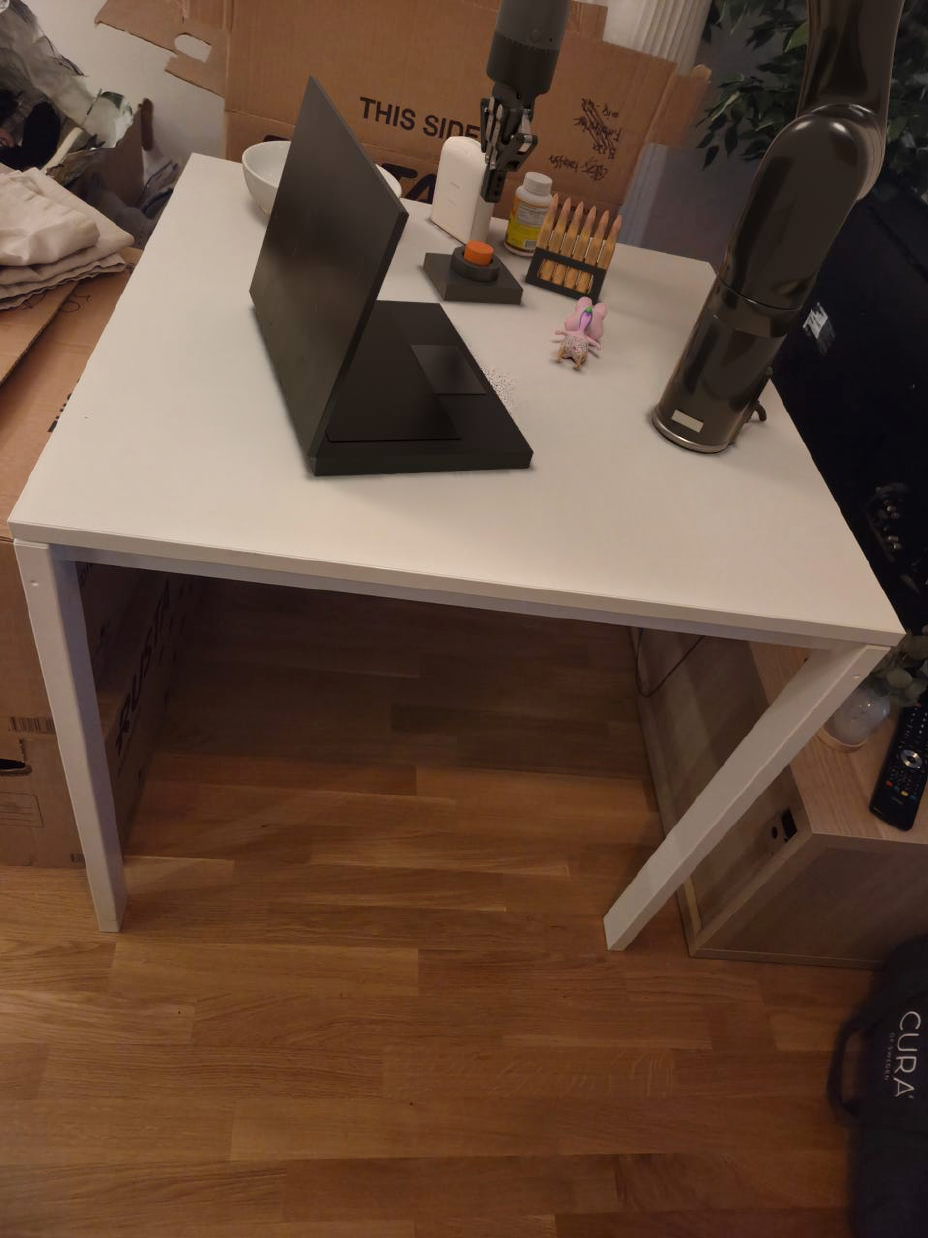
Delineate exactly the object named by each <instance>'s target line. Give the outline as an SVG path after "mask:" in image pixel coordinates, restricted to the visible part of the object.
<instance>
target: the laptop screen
mask: <svg viewBox="0 0 928 1238" xmlns="http://www.w3.org/2000/svg"><path fill="white" fill-rule="evenodd" d="M290 141H291V144H290V147H289V151H288V154H287V158H286V161H285V165H284V168H283V172H282V176H281V179H280V183H279V186H278V190H277V193H276V197H275V200H274V204H273V208H272V211H271V215H269V218H268V222H267V226H266V230H265V232H264V236H263V240H262V243H261V247H260V251H259V254H258V258H257V261H256V264H255V268H254V272H253V275H252V279H251V282H250V285H249V288H248V289H249V290H248V293H249V295H250V298H251V301H252V304H253V307H254V309H255V313H256V316H257V318H258V321H259V324H260V327H261V330H262V333H263V336H264V339H265V341H266V344H267V346H268V349H269V353H270V355H271V358H272V361H273V364H274V367H275V369H276V370H275V371H276V373H277V375H278V378H279V381H280V384H281V387H282V389H283V392H284V395H285V398H286V401H287V404H288V407H289V409H290V412H291V415H292V418H293V421H294V423H295V427H296V430H297V432H298V435H299V438H300V441H301V443H302V446H303V449H304V452H305V455H306V457H307V458H308V457H313V458H315V456H316V454H317V451H318V449H319V446H320V444H321V441H322V438H323V436H324V433H325V431H326V428H327V426H328V423H329V421H330V418H331V415H332V413H333V410H334V408H335V405H336V403H337V400H338V397H339V395H340V392H341V390H342V387H343V385H344V382H345V379H346V377H347V374H348V372H349V369H350V367H351V364H352V361H353V359H354V356H355V354H356V351H357V349H358V346H359V343H360V341H361V338H362V336H363V333H364V331H365V328H366V325H367V323H368V320H369V318H370V315H371V313H372V310H373V308H374V305H375V302H376V300H378V297H379V294H380V292H381V289H382V287H383V284H384V281H385V279H386V277H387V274H388V271H389V269H390V266H391V263H392V261H393V259H394V256H395V255H396V254H395V253H396V251H397V248H398V246H399V243H400V242H401V238H402V235H403V233H404V231H405V228H406V226H407V222H408V220H409V217H410V213H409V212H408V210H407V209H406V207H405V206H404V204H403V202H402V201H401V199H400V200H399V198H398V197H397V196H396V194H395V193H394V191H393V190H392V188H391V187H390V185H389V184H388V182H387V181H386V179H385V178H384V176H383V175H382V173H381V172H380V171H379V169H378V168H377V166H376V165H377V164H376V163H375V161H374V160H373V159H372V157H371V156H370V154H369V153H368V151H367V150H366V149H365V147H364V145H363V144H362V142H361V141H360V140H359V138H358V136H357V135H356V133H355V132H354V130H352V128H351V126H350V125H349V124H348V122H347V120H346V119H345V117H344V116H343V114H342V113H341V111H340V110H339V108H338V107H337V106H336V104H335V103H334V102H333V100H332V99H331V96H330V95H329V94H328V92H327V91H326V90H325V88H324V86H323V85H322V84H321V82H320V80H319V79H318V78H317V77H315V76H312V75H309V77H308V80H307V84H306V87H305V90H304V95H303V97H302V101H301V105H300V110H299V111H298V114H297V119H296V123H295V126H294V130H293V133H292V136H291V140H290ZM375 164H376V165H375Z"/></svg>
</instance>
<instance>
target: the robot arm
mask: <svg viewBox="0 0 928 1238" xmlns="http://www.w3.org/2000/svg"><path fill="white" fill-rule="evenodd" d="M499 1H500V2H499V6H498V11H497V16H496V21H495V26H494V30H493V35H492V39H491V44H490V48H489V52H488V53H489V54H488V58H487V63H486V67H485V73H486V75H487V77H488V79H490V80H491V81H492V82H493V83H494V84H493V86H492V89H491V95H490V97H488V98H487V97H481V98H480V103H479V121H480V123H479V125H480V143H481V152H482V153H486V155H485V163H486V164H487V166H486V170H485V175H484V179H483V183H482V188H481V192H480V195H481V197H482V198H483V199H484V201H485V202H488V203H494V204H499V203H500V201H501V198H502V195H503V190H504V186H505V183H506V180H507V179H506V178H507V176H508V175H507V174H508V173H517V172H518V171H519V170H520V169H521V167H522V166H523V165H524V164H525V162H526V161H527V159H528V158H529V157H530V155H531V154H532V153H533V152H534V150H535V149H536V147H537V146H538V143H539V137H538V135H537V134H532V131H531V123H532V122H533V119H534V116H535V106H536V99H537V98H538V97H539V96H540V95H542V96H543V95H545V94H547V93H549V91H550V90H551V86H552V81H553V78H554V75H555V72H556V68H557V64H558V60H559V56H560V52H561V49H562V45H563V40H564V38H565V33H566V30H567V26H568V21H569V17H570V12H571V4H572V0H499ZM805 1H806V12H807V13H806V14H807V45H806V47H807V48H806V57H805V64H804V69H803V70H804V71H803V77H802V82H801V88H800V93H799V98H798V103H797V108H796V111H795V112H796V113H795V116H794V119H793V120H792V121H791V122H790V123H788V124H787V125H786V126H785V127H783V128H782V129H781V131H779V132H778V134H777V135H776V136H775V137H774V138H773V140H772V142H771V143H770V145H769V146H768V147H767V150H766V151H765V154H764V155H763V157H762V159H761V161H760V163H759V165H758V167H757V170H756V172H755V174H754V176H753V177H752V180H751V183H750V185H749V188H748V190H747V192H746V195H745V197H744V199H743V201H742V204H741V207H740V209H739V212H738V214H737V216H736V219H735V221H734V223H733V225H732V228H731V229H730V233H729V236H728V239H727V242H726V247H725V254H724V258H723V259H722V263H721V264H720V267H719V269H718V271H717V274H716V276H715V278H714V280H713V282H712V284H711V287H710V289H709V291H708V293H707V295H706V298H705V300H704V303H703V304H702V306H701V309H700V311H699V313H698V315H697V317H696V320H695V322H694V324H693V327H692V328H691V330H690V333H689V335H688V337H687V340H686V341H685V344H684V346H683V348H682V350H681V353H680V355H679V357H678V359H677V362H676V364H675V366H674V368H673V370H672V372H671V375H670V377H669V379H668V381H667V384H666V385H665V388H664V390H663V392H662V395H661V396H660V399H659V400H658V403H657V404H656V405H655V408H654V409H653V412H652V415H651V417H652V422H653V424H654V426H655V427H656V429H657V430H658V431H659V432H660V434H662V435H663V436H664V437H665V438H667V439H669V440H670V441H672V442H673V443H675V444H677V445H679V446H682V447H683V448H687V449H689V450H692V451H695V452H696V451H697V452H702V453H716V452H720V451H722V450H724V449H725V448H726V447H727V446H728V445H729V444H735V442H736V440H737V438H738V436H739V435H740V433H741V431H742V430H743V428H744V426H745V424H749V422H750V420H751V419H752V417H753V415H754V413H755V412H756V413H757V415H758V417H757V418H758V420H759V422H761V423H765V422H766V421H767V420H768V418H767V412H766V409H765V408H764V407H763V405H762V404H761V403H760V402H761V401H760V400H759V398H760V397H761V395H762V394H763V393H764V390H765V388H766V386H767V384H768V383H769V381H770V379H771V378H772V375H773V369H772V367H770V366H771V365H772V363H773V361H774V359H775V357H776V355H777V353H778V352H779V350H780V348H781V347H782V345H783V342H784V341H785V339H786V337H787V335H788V333H789V331H790V329H791V328H792V326H793V324H794V323H795V320H796V319H797V317H798V315H799V314H800V311H801V310H802V308H803V306H804V305H805V303H806V301H807V299H808V298H809V296H810V294H811V293H812V291H813V289H814V287H815V285H816V282H817V276H818V273H819V271H820V268H821V266H822V264H823V262H824V260H825V258H826V256H827V254H828V252H829V251H830V249H831V247H832V245H833V243H834V242H835V239H836V238H837V236H838V234H839V232H840V231H841V228H842V227H843V225H844V223H845V221H846V220H847V218H848V216H849V214H850V212H851V210H852V209H853V208H854V207H855V206H856V205H857V204H859V203H860V202H861V201H862V200H863V199H864V198H865V196H867V194H868V193H870V190H871V189H872V188H873V186H874V185H875V184H876V181H877V179H878V177H879V175H880V173H881V170H882V166H883V163H884V159H885V152H886V141H887V127H888V114H889V104H890V103H889V102H890V94H891V93H890V92H891V83H892V72H893V65H894V56H895V55H894V54H895V48H896V42H897V36H898V30H899V25H900V22H901V21H900V20H901V16H902V12H903V9H904V6H905V5H904V4H905V1H906V0H805Z"/></svg>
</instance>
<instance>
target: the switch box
mask: <svg viewBox="0 0 928 1238" xmlns="http://www.w3.org/2000/svg"><path fill="white" fill-rule="evenodd" d="M465 248H466V245H460V246H457V247H454V249H453V251H452V253H438V252H425V254H424V258H423V263H422V264H423V265H422V269H423V271H424V272H425V274H426V276H427V277H428V279H429V281H430V282H431V284H432V285H433V286H434V288H435V290H436V292H437V293H438V294H439V296H440V297H441V300H442V301H443V302H457V303H458V302H460V303H478V304H480V303H481V304H495V305H496V304H497V305H514V306H515V305H517V306H520V305H521V300H522V297H523V294H524V287H523V286H522V285H521V284H520V282H519V281H518V280H517V279H516V278H515V276H514V275H513V273H511V271H510V270H509V269H508V267H507V266H506V264H505V263H504V262H503V261H502V259H501V258H500V257H499V256H498V255H496V254H495V253H493V254H492V258H491V262H490V264H488V265H480V264H476V263H473V262H470V261H468V260H467V259H465V258H464V253H465Z"/></svg>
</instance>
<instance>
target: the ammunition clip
mask: <svg viewBox="0 0 928 1238" xmlns="http://www.w3.org/2000/svg"><path fill="white" fill-rule="evenodd" d="M552 197H553V199H552V200H551V203H550V205H549V208H548V211H547V214H546V216H545V219H544V222H543V224H542V226H541V229H540V233H539V236H538V240H537V243H536V247H535V250H534V254H533V256H531V259H530V260H531V261H530V264H529V266H528V269H527V272H526V276H525V278H524V283H525V284H529V285H531V286H534V287H537V288H541V289H543V290H546V291H549V292H553V293H556V294H557V295H561V296H565V297H567V298H570V299H573V300H576V301H578V300H579V299H580V298H582V297H588V298H590V299H591V301H592V306H593V307H594V306H595V305H596V304H597V303H599V298H600V295H601V292H602V288H603V285H604V282H605V279H606V276H607V273H608V270H609V268H610V265H611V263H612V259H613V256H614V254H615V251H616V245H617V242H618V236H619V234H620V231H621V226H622V222H623V217H622V216H623V215H622V214H621V213H620V214H619V215H617V217H616V218H615V220H614V222H613V224H612V226H611V228H610V231H609V234H607V235H608V236H607V238H606V240H605V242H604V238H605V235H606V231H607V228H608V224H609V217H610V211H609V209H606V210H605V212H603V214H602V216H601V218H600V220H599V222H598V225H597V227H596V230H595V232H594V235H593V237H592V239H591V236H592V231H593V227H594V226H595V225H594V224H595V220H596V213H597V206H596V205H593V206H592V207H591V208H590V210H589V212H588V214H587V216H586V218H585V221H584V224H583V227H582V229H581V232H580V234H579V230H580V227H581V222H582V218H583V213H584V201H580V203H578V205H577V207H576V209H575V211H574V214H573V216H572V219H571V222H570V224H569V227H568V229H567V225H568V220H569V217H570V213H571V207H572V206H571V205H572V200H571V199H572V198H571V196H569V197H567V199H566V200H565V202H564V204H563V205H562V208H561V211H560V213H559V216H558V219H557V222H556V224H555V226H554V223H555V220H556V214H557V210H558V207H559V194H558V192H556V193H555V194H554V195H553V196H552ZM578 235H579V236H578ZM603 243H604V244H603Z"/></svg>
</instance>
